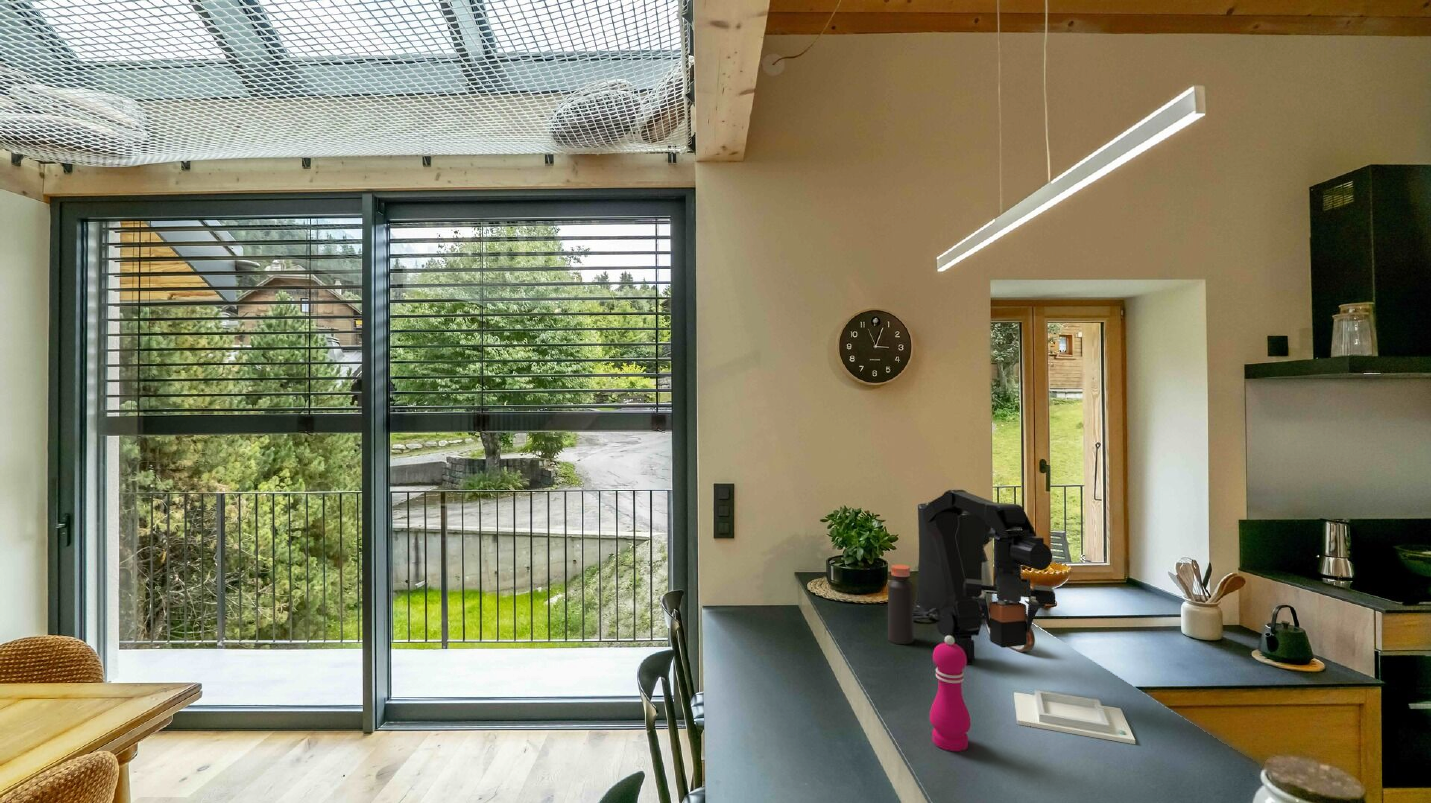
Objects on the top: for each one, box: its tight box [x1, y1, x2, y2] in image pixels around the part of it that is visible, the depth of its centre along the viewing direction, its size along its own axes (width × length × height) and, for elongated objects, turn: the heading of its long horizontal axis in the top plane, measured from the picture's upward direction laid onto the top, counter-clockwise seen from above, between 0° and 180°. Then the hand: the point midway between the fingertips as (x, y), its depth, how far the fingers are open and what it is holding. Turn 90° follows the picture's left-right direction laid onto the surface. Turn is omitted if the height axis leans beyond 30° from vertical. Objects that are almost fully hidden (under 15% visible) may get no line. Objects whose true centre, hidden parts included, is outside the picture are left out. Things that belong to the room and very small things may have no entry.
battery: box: [989, 599, 1027, 648], centre depth 145 cm, size 4×7×10 cm, turn 106°
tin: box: [985, 612, 1036, 653], centre depth 171 cm, size 15×3×8 cm, turn 20°
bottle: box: [887, 564, 915, 645], centre depth 175 cm, size 7×7×20 cm
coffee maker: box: [914, 501, 994, 622], centre depth 199 cm, size 23×32×34 cm
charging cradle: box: [1013, 689, 1136, 745], centre depth 130 cm, size 20×14×2 cm
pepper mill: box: [929, 636, 972, 752], centre depth 121 cm, size 7×7×20 cm
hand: (1008, 629), depth 145 cm, fingers closed on battery, 8 cm apart
